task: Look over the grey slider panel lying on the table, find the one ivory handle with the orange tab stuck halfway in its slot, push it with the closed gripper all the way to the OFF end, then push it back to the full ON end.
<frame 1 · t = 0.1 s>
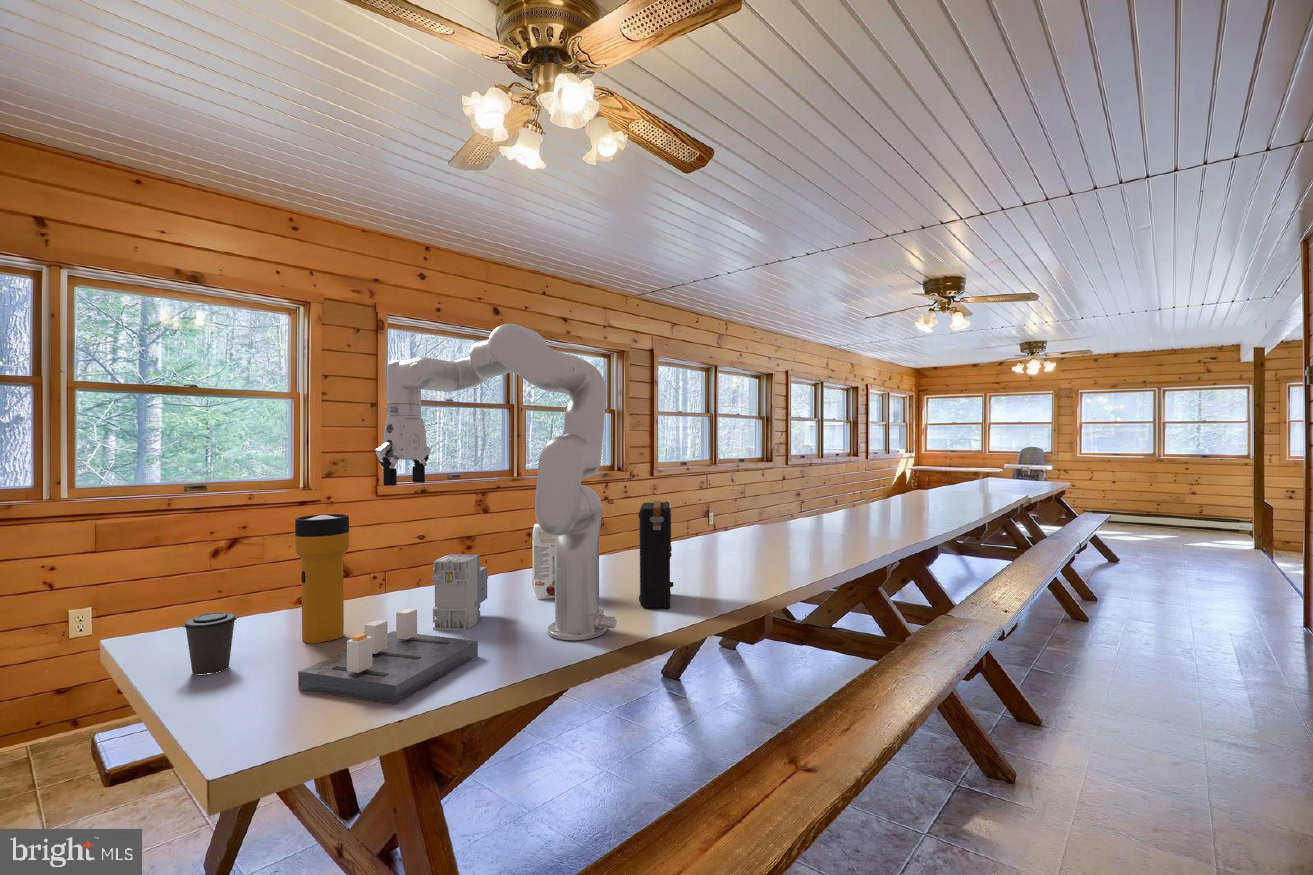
hand: (404, 484, 144), 31 cm above the table, tool pointing down, fingers open, 9 cm apart
breaker b: (376, 636, 110), point 6 cm above the table, slide at 8.0 cm
flashlight: (323, 638, 128), on the table
grey slider panel: (394, 671, 109), on the table
coffee cup: (210, 670, 110), on the table
juice carton: (549, 596, 161), on the table
circuit breaker: (462, 621, 140), on the table
breaker a: (406, 623, 118), point 6 cm above the table, slide at 8.0 cm
tripped breaker: (359, 652, 101), point 6 cm above the table, slide at 4.0 cm
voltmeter: (656, 602, 155), on the table
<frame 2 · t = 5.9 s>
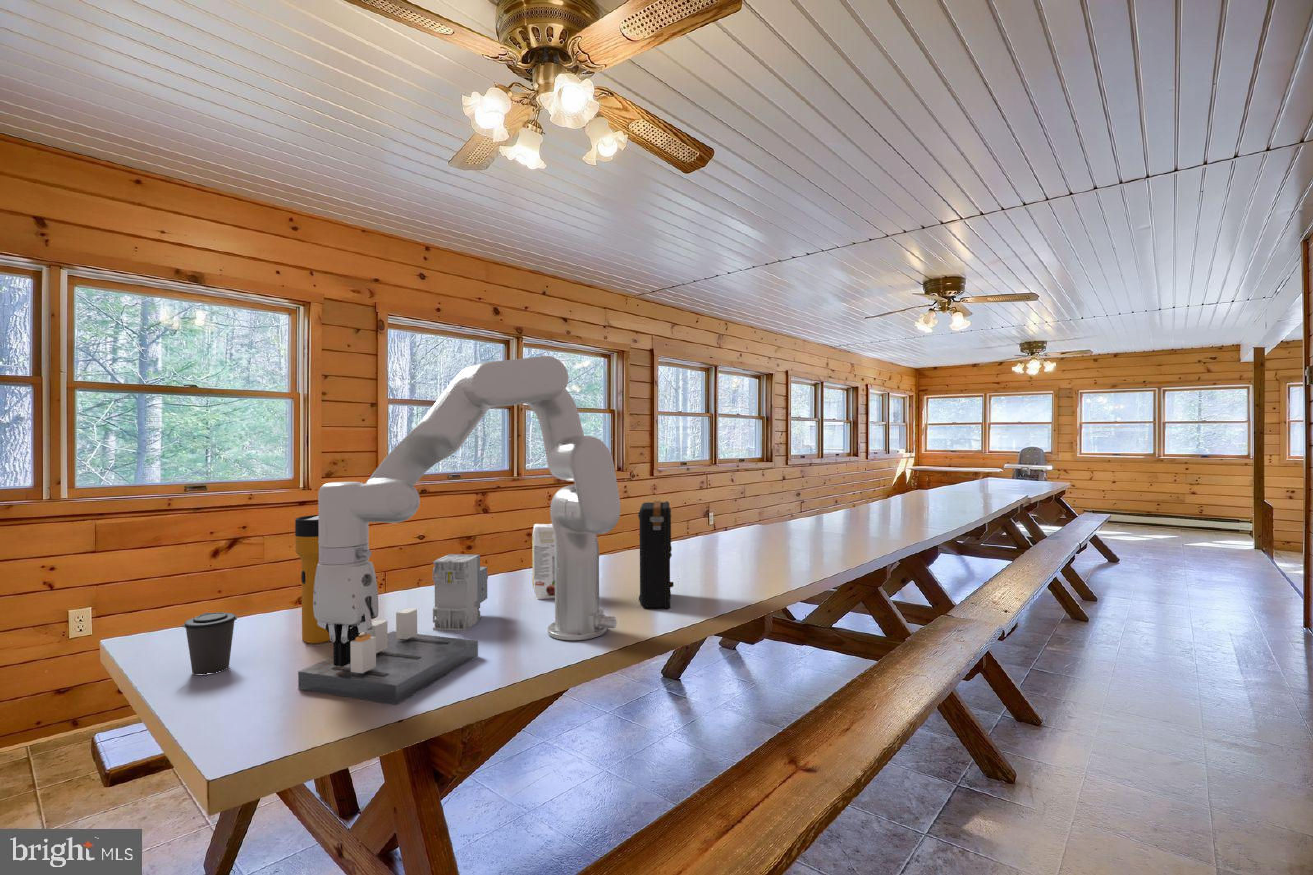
hand: (344, 663, 102), 4 cm above the table, tool pointing down, fingers closed
tripped breaker: (363, 652, 101), point 6 cm above the table, slide at 3.2 cm, touching gripper
everything else where it was.
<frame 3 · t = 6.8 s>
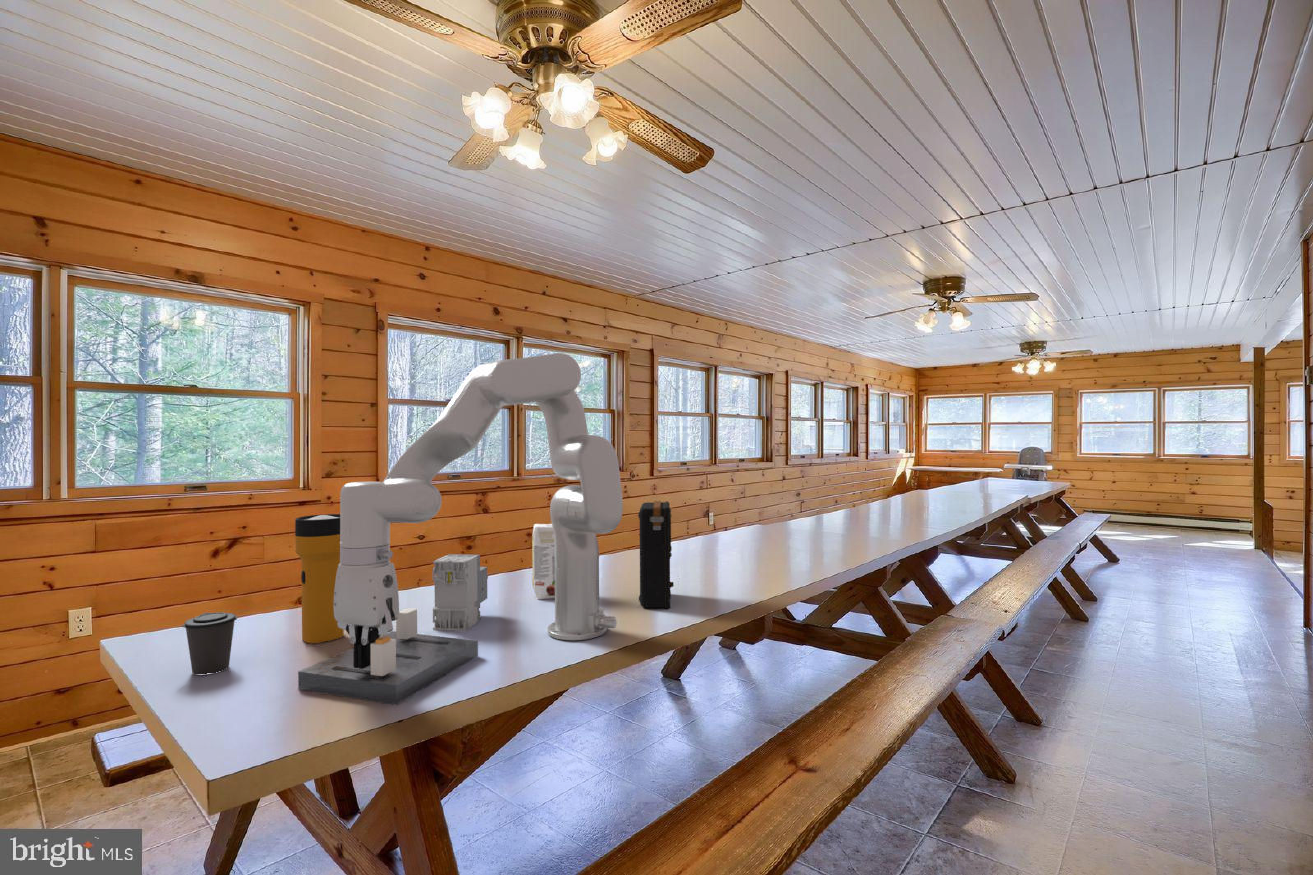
hand: (364, 665, 101), 4 cm above the table, tool pointing down, fingers closed
tripped breaker: (383, 655, 100), point 6 cm above the table, slide at -0.9 cm, touching gripper
everything else where it was.
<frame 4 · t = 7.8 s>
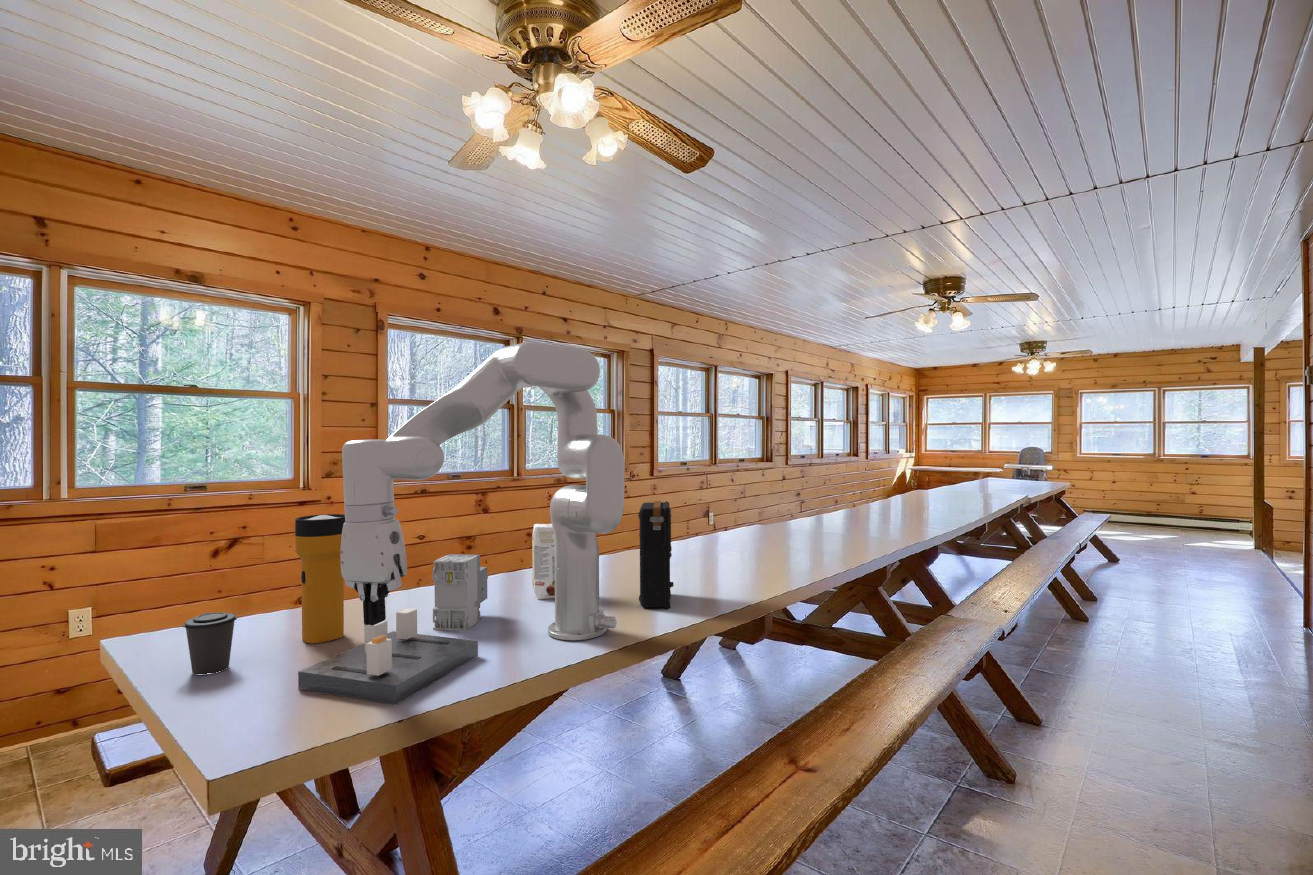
hand: (375, 622, 101), 11 cm above the table, tool pointing down, fingers closed
tripped breaker: (379, 654, 100), point 6 cm above the table, slide at -0.1 cm
everything else where it was.
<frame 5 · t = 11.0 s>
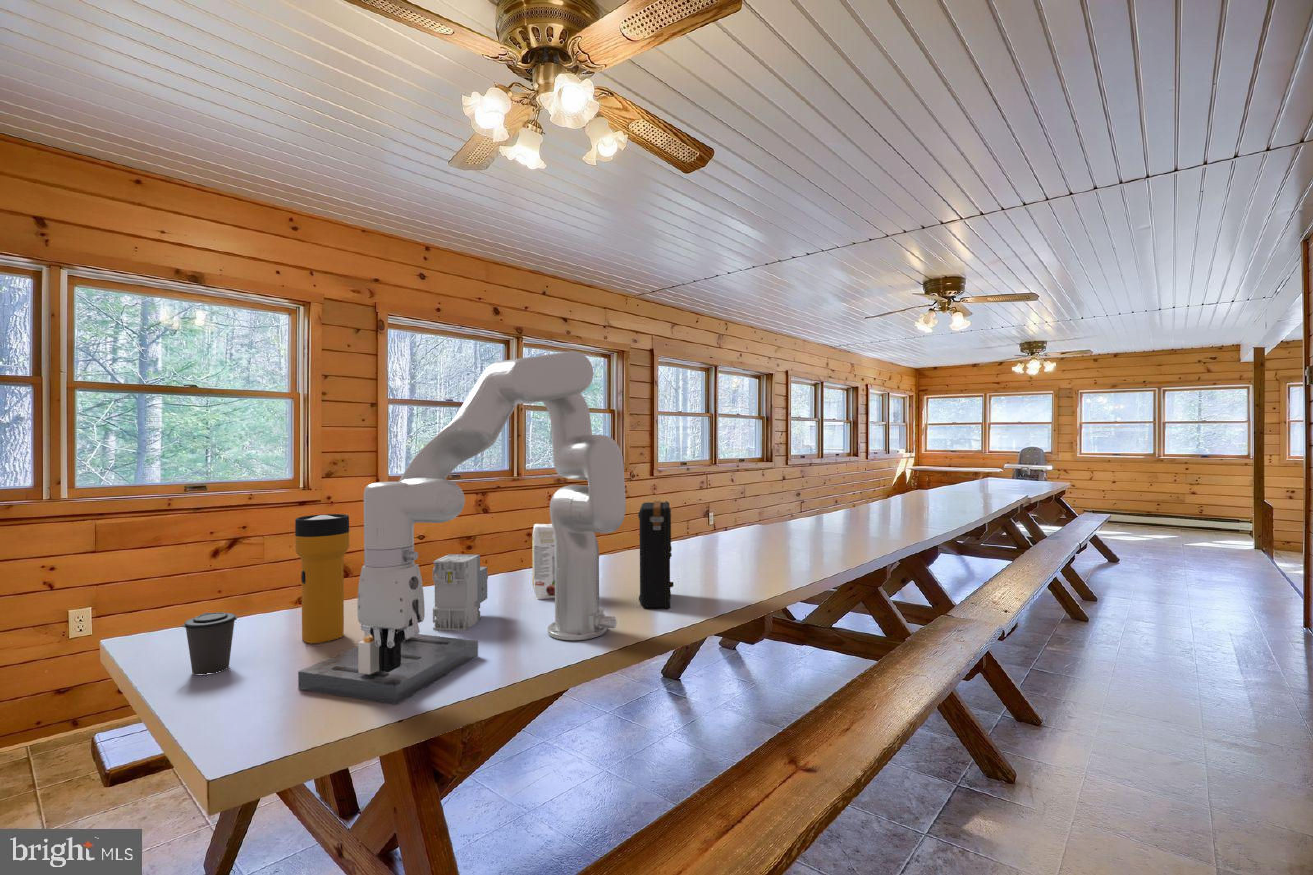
hand: (390, 668, 99), 4 cm above the table, tool pointing down, fingers closed
tripped breaker: (371, 653, 101), point 6 cm above the table, slide at 1.6 cm, touching gripper
everything else where it was.
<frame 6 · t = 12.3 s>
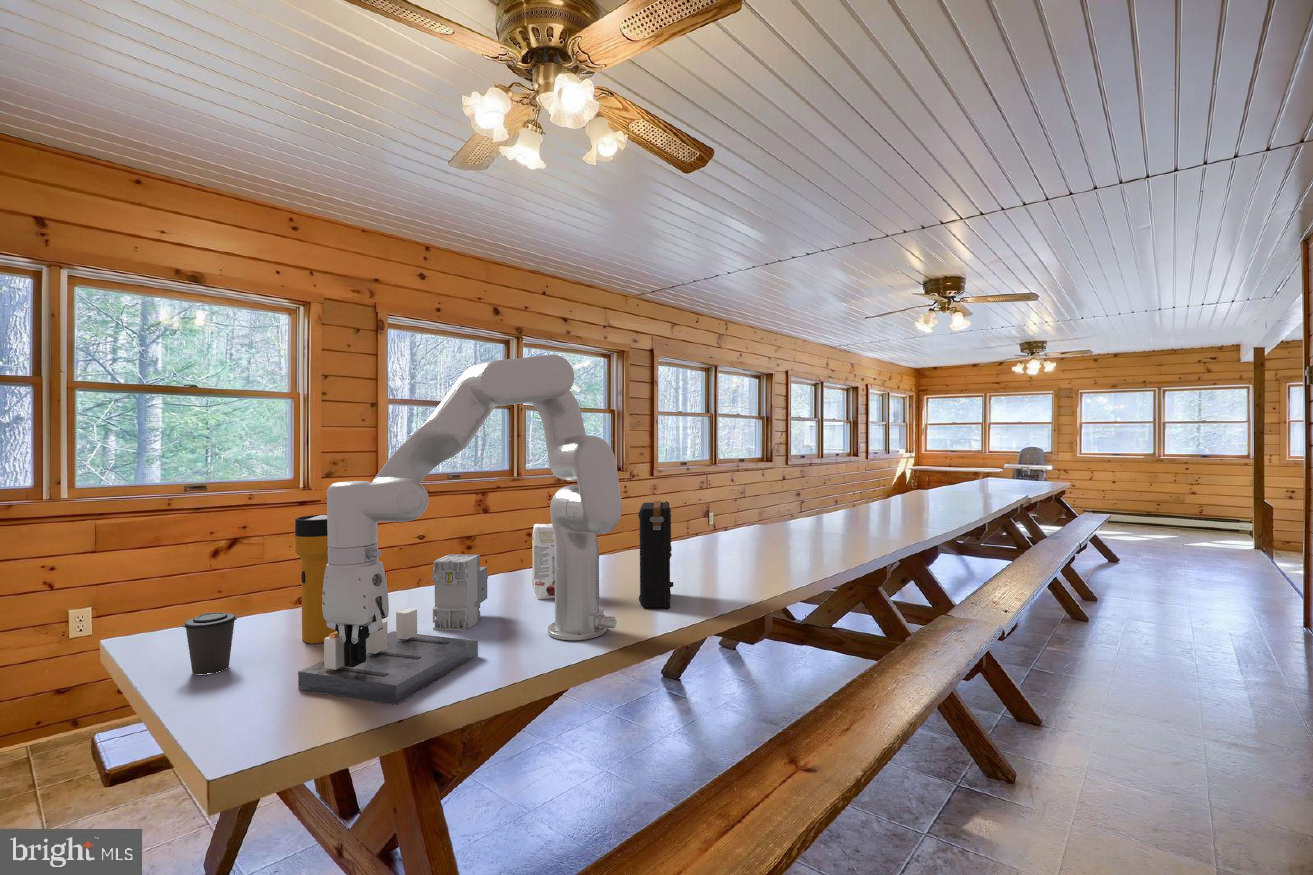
hand: (355, 663, 102), 4 cm above the table, tool pointing down, fingers closed
tripped breaker: (337, 649, 103), point 6 cm above the table, slide at 8.8 cm, touching gripper
everything else where it was.
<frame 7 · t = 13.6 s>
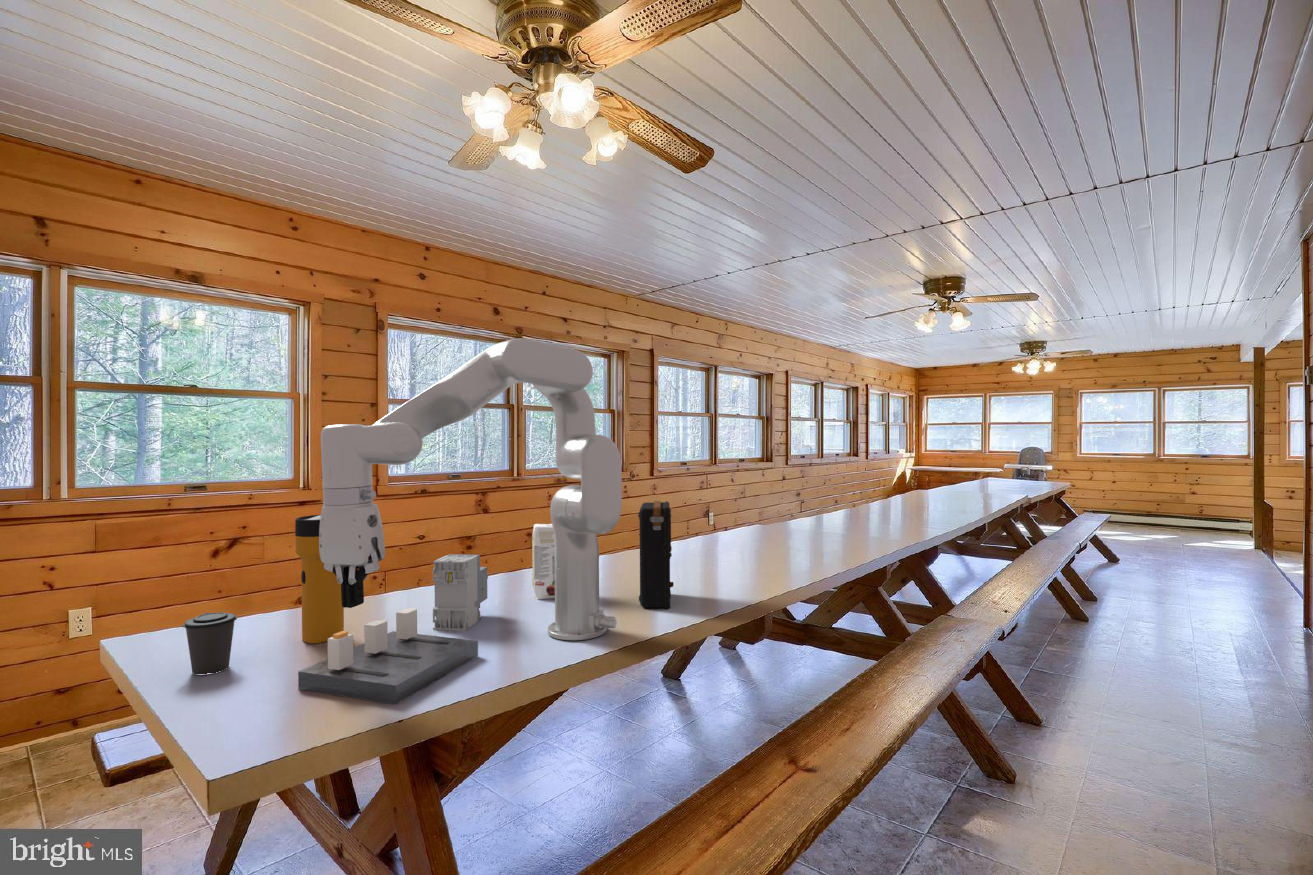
hand: (353, 605, 102), 14 cm above the table, tool pointing down, fingers closed
tripped breaker: (340, 649, 103), point 6 cm above the table, slide at 8.1 cm
everything else where it was.
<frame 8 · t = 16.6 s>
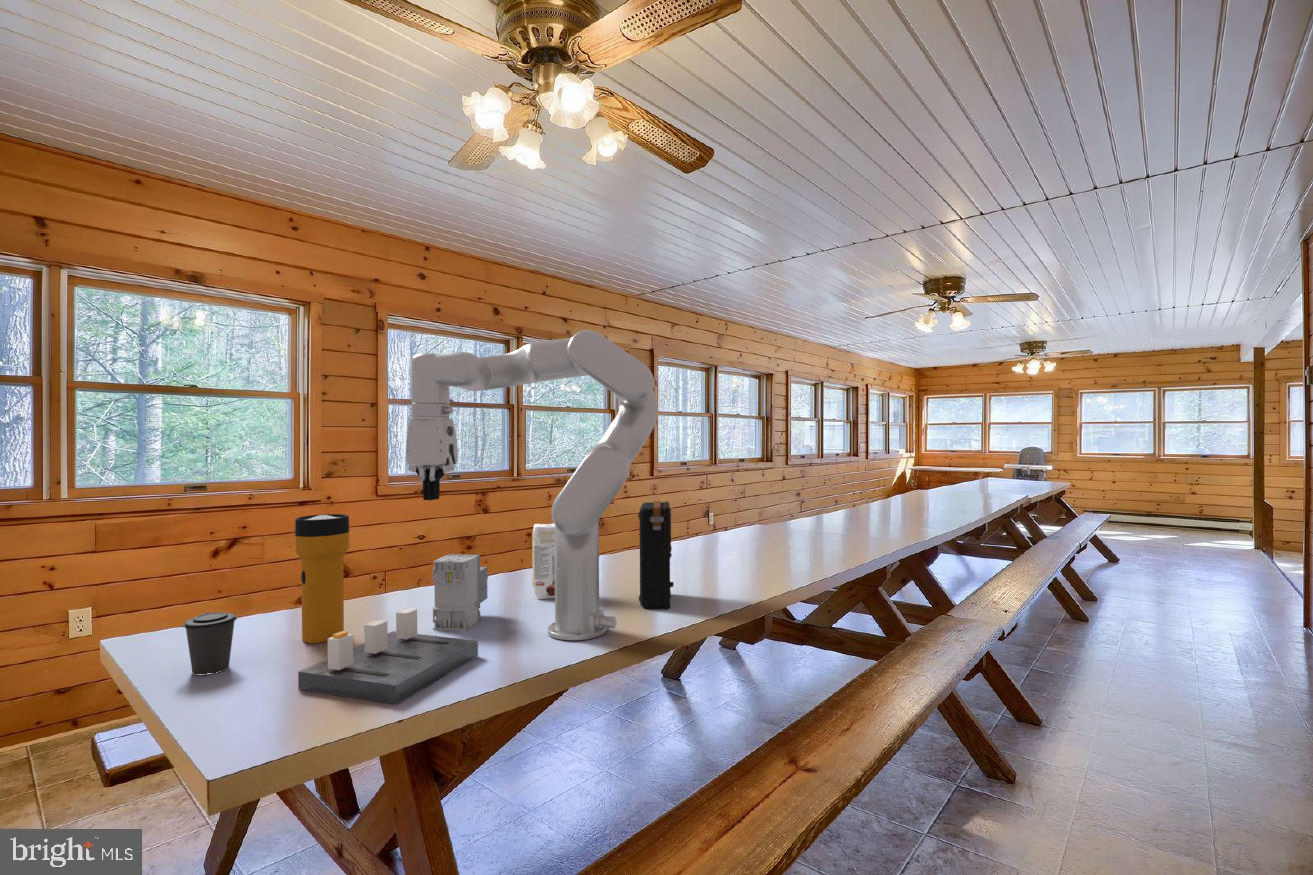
hand: (431, 499, 128), 29 cm above the table, tool pointing down, fingers closed
nothing on the table moved.
at the end: tripped breaker slide at 8.1 cm; breaker a slide at 8.0 cm; breaker b slide at 8.0 cm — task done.
